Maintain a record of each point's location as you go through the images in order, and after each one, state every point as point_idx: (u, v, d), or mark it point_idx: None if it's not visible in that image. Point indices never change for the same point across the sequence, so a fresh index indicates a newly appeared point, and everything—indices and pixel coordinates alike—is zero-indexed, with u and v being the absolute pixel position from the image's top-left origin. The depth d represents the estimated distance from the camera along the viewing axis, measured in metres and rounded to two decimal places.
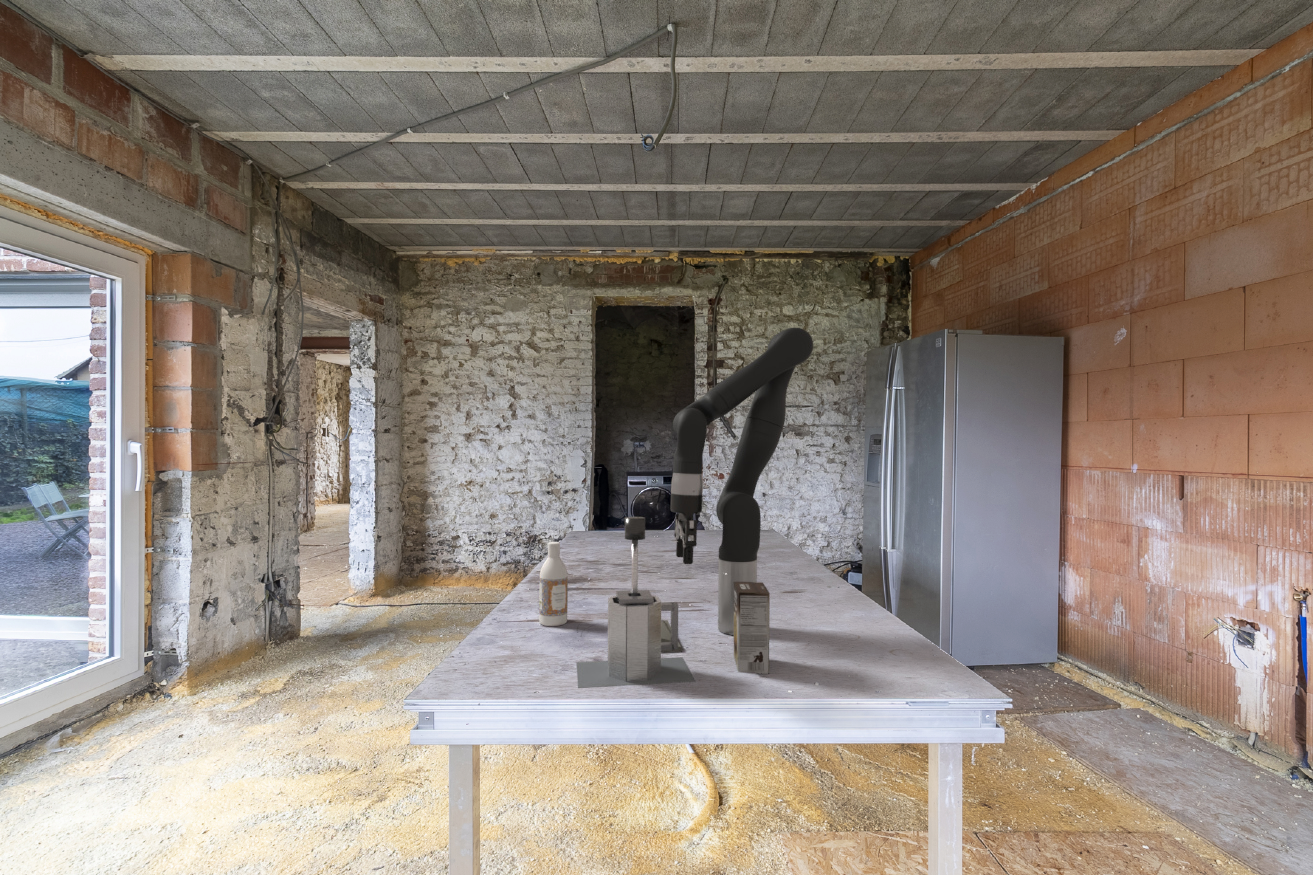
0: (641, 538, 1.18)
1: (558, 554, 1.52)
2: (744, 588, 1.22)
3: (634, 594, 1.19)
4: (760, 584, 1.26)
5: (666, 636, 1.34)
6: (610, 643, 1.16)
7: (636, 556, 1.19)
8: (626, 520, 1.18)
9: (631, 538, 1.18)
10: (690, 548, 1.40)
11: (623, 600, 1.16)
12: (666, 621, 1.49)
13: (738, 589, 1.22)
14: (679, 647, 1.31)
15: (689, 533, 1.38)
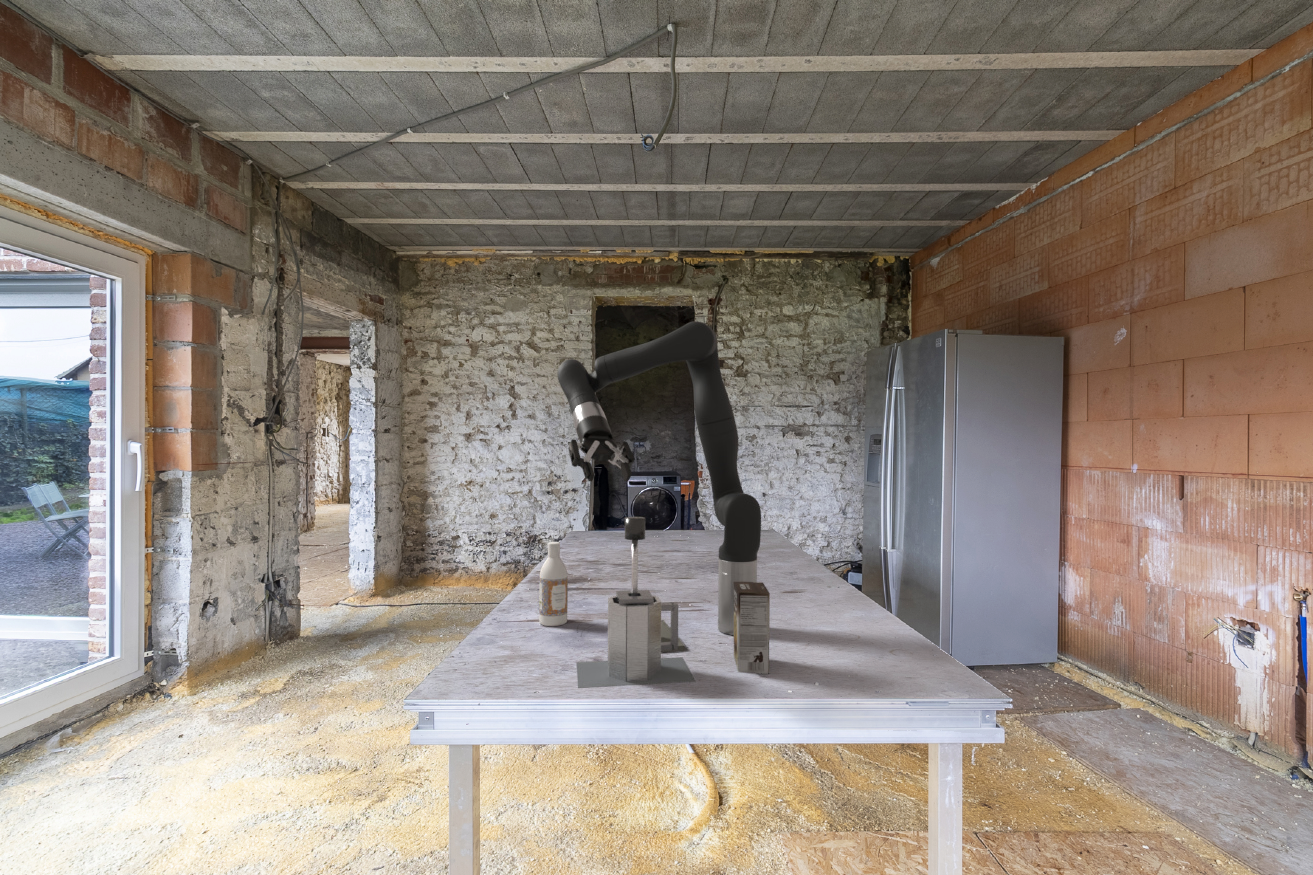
0: (641, 538, 1.18)
1: (558, 554, 1.52)
2: (744, 588, 1.22)
3: (634, 594, 1.19)
4: (760, 584, 1.26)
5: (669, 635, 1.34)
6: (610, 643, 1.16)
7: (636, 556, 1.19)
8: (626, 520, 1.18)
9: (631, 538, 1.18)
10: None
11: (623, 600, 1.16)
12: (663, 621, 1.49)
13: (738, 589, 1.22)
14: (683, 646, 1.31)
15: None
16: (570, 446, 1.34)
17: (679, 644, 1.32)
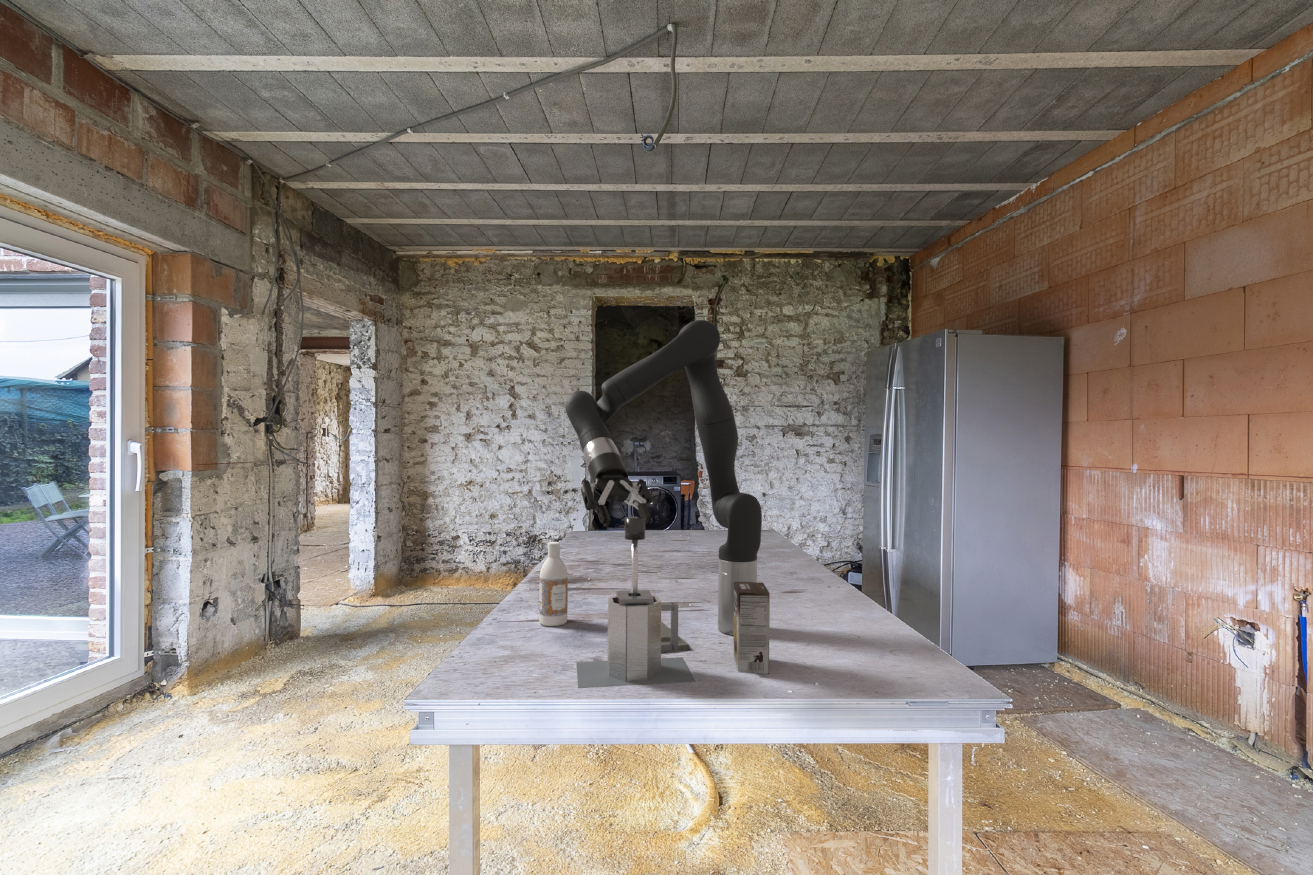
0: (641, 538, 1.18)
1: (558, 554, 1.52)
2: (744, 588, 1.22)
3: (634, 594, 1.19)
4: (760, 584, 1.26)
5: None
6: (610, 643, 1.16)
7: (636, 556, 1.19)
8: (626, 520, 1.18)
9: (631, 538, 1.18)
10: None
11: (623, 600, 1.16)
12: None
13: (738, 589, 1.22)
14: (687, 645, 1.32)
15: None
16: (583, 488, 1.23)
17: (683, 643, 1.33)
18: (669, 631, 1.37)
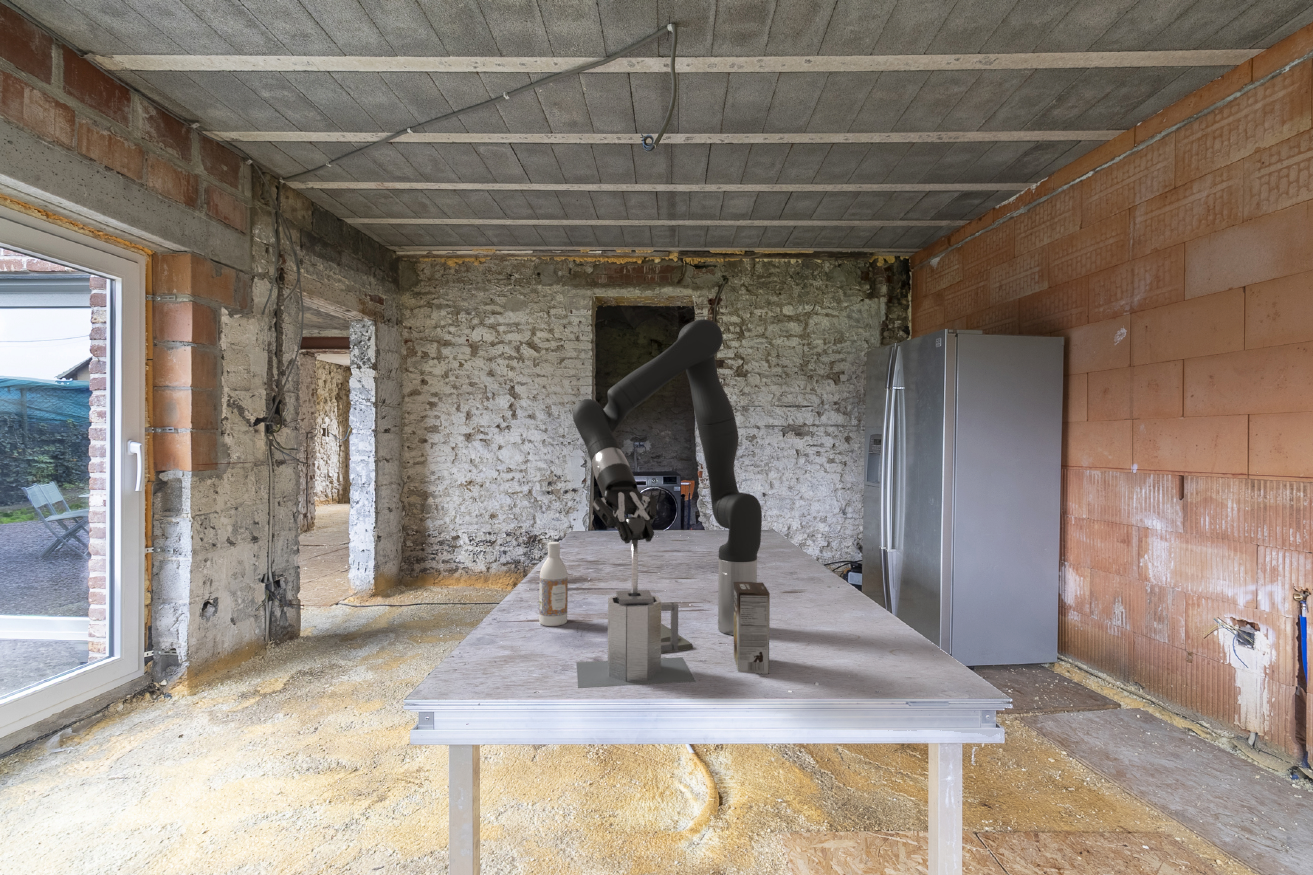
0: (641, 538, 1.18)
1: (558, 554, 1.52)
2: (744, 588, 1.22)
3: (634, 594, 1.19)
4: (760, 584, 1.26)
5: None
6: (610, 643, 1.16)
7: (636, 556, 1.19)
8: (626, 520, 1.18)
9: None
10: None
11: (623, 600, 1.16)
12: None
13: (738, 589, 1.22)
14: (690, 644, 1.33)
15: None
16: (596, 506, 1.20)
17: (685, 642, 1.33)
18: (670, 631, 1.38)
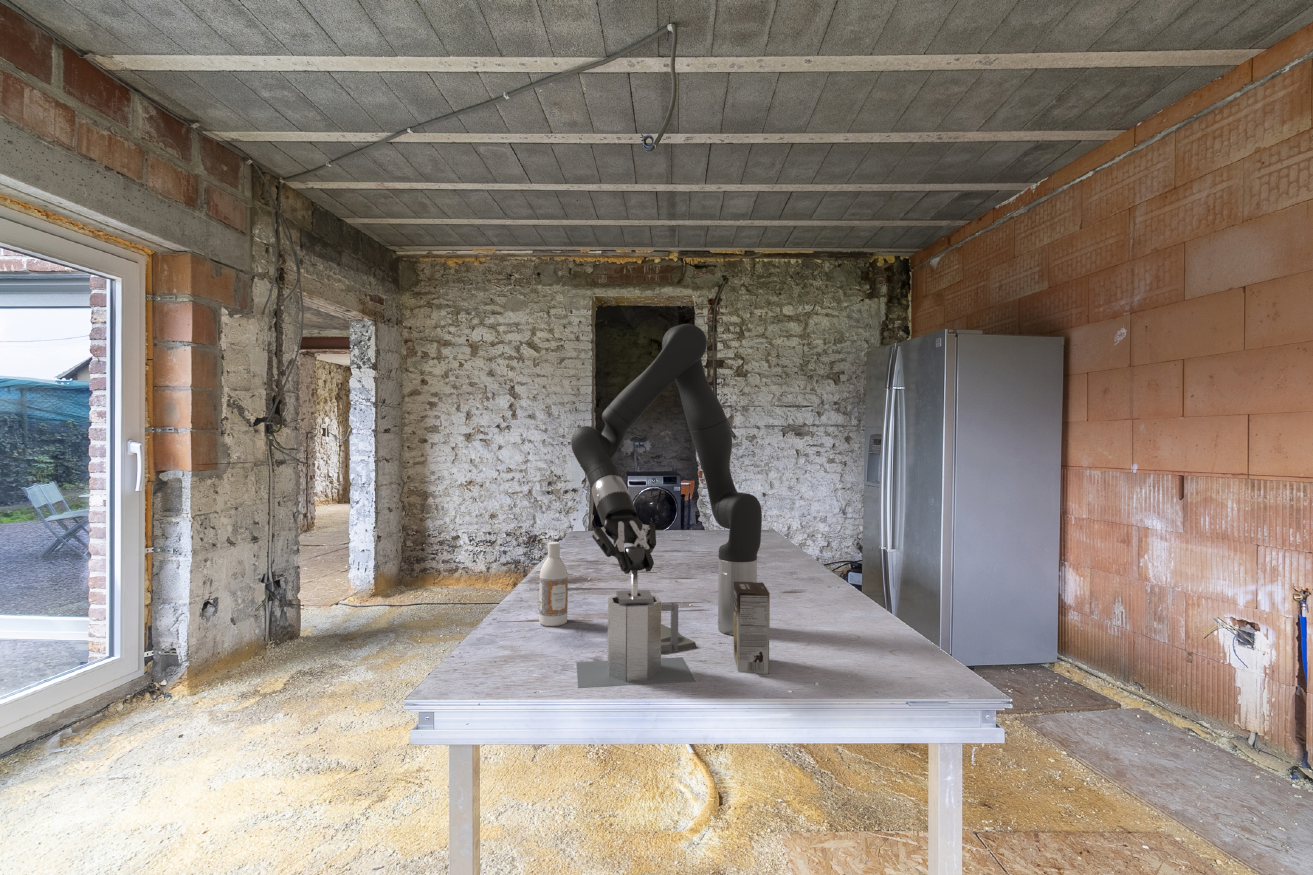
0: (641, 568, 1.18)
1: (558, 554, 1.52)
2: (744, 588, 1.22)
3: None
4: (760, 584, 1.26)
5: None
6: (610, 643, 1.16)
7: (636, 586, 1.19)
8: (626, 550, 1.18)
9: None
10: None
11: (623, 600, 1.16)
12: None
13: (738, 589, 1.22)
14: (693, 643, 1.34)
15: None
16: (596, 535, 1.20)
17: (689, 641, 1.34)
18: None
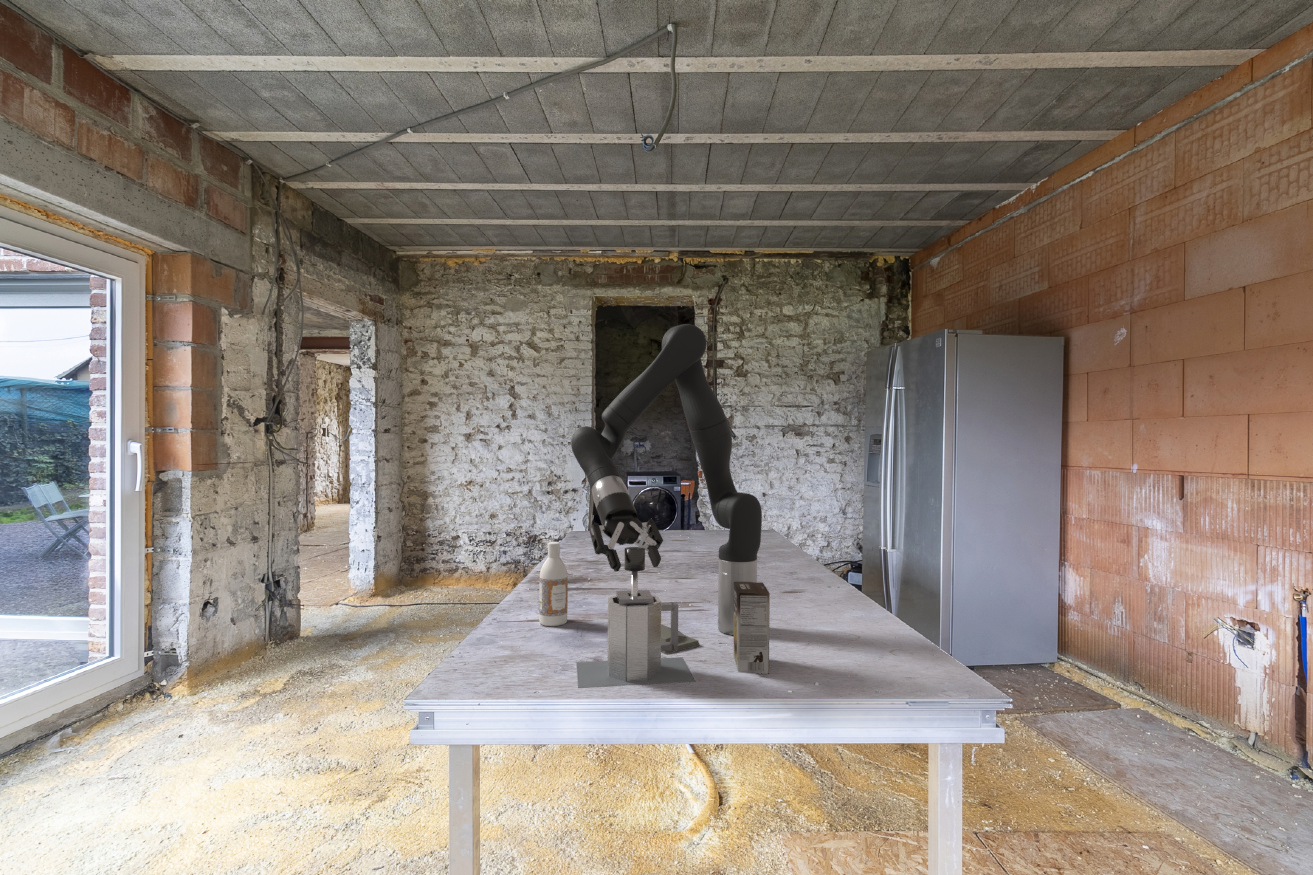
0: (641, 569, 1.18)
1: (558, 554, 1.52)
2: (744, 588, 1.22)
3: None
4: (760, 584, 1.26)
5: (679, 633, 1.36)
6: (610, 643, 1.16)
7: (636, 587, 1.19)
8: (626, 551, 1.18)
9: (631, 569, 1.18)
10: None
11: (623, 600, 1.16)
12: None
13: (738, 589, 1.22)
14: (697, 641, 1.35)
15: None
16: (592, 530, 1.21)
17: (692, 640, 1.35)
18: None
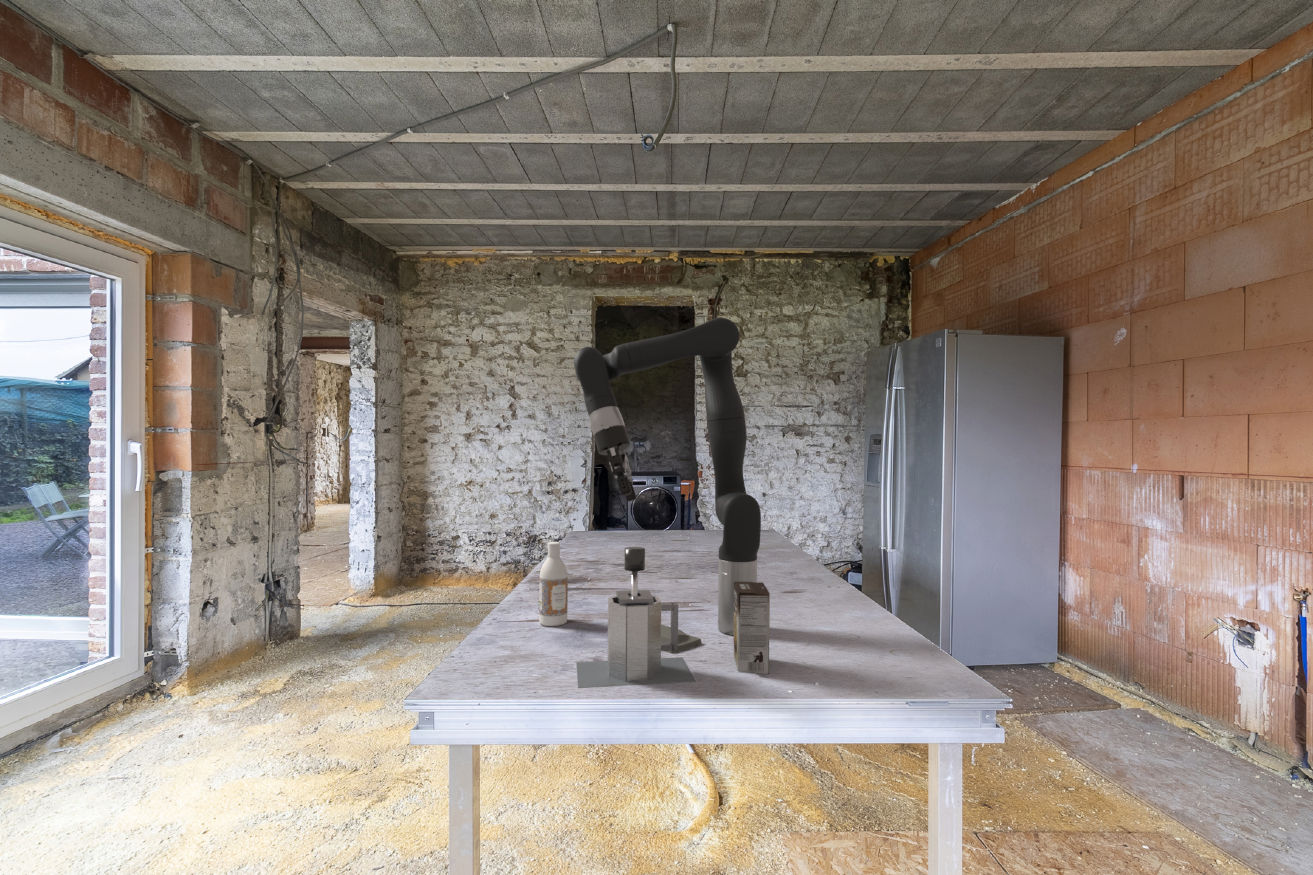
0: (641, 569, 1.18)
1: (558, 554, 1.52)
2: (744, 588, 1.22)
3: None
4: (760, 584, 1.26)
5: (681, 632, 1.37)
6: (610, 643, 1.16)
7: (636, 587, 1.19)
8: (626, 551, 1.18)
9: (631, 569, 1.18)
10: None
11: (623, 600, 1.16)
12: None
13: (738, 589, 1.22)
14: (699, 639, 1.36)
15: None
16: (613, 451, 1.30)
17: (694, 638, 1.36)
18: None
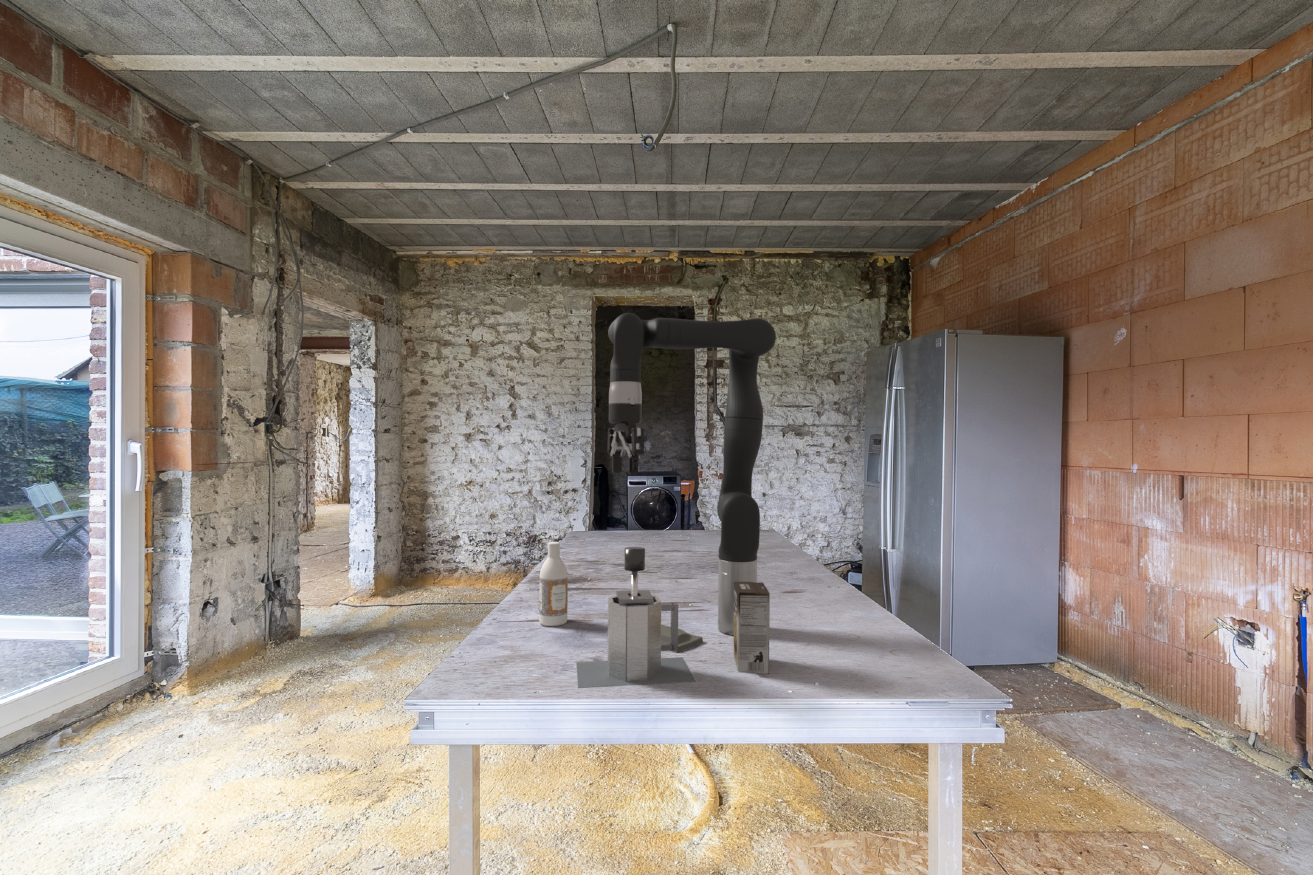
0: (641, 569, 1.18)
1: (558, 554, 1.52)
2: (744, 588, 1.22)
3: None
4: (760, 584, 1.26)
5: (682, 631, 1.37)
6: (610, 643, 1.16)
7: (636, 587, 1.19)
8: (626, 551, 1.18)
9: (631, 569, 1.18)
10: None
11: (623, 600, 1.16)
12: None
13: (738, 589, 1.22)
14: (701, 638, 1.37)
15: None
16: (639, 432, 1.33)
17: (696, 637, 1.37)
18: None
